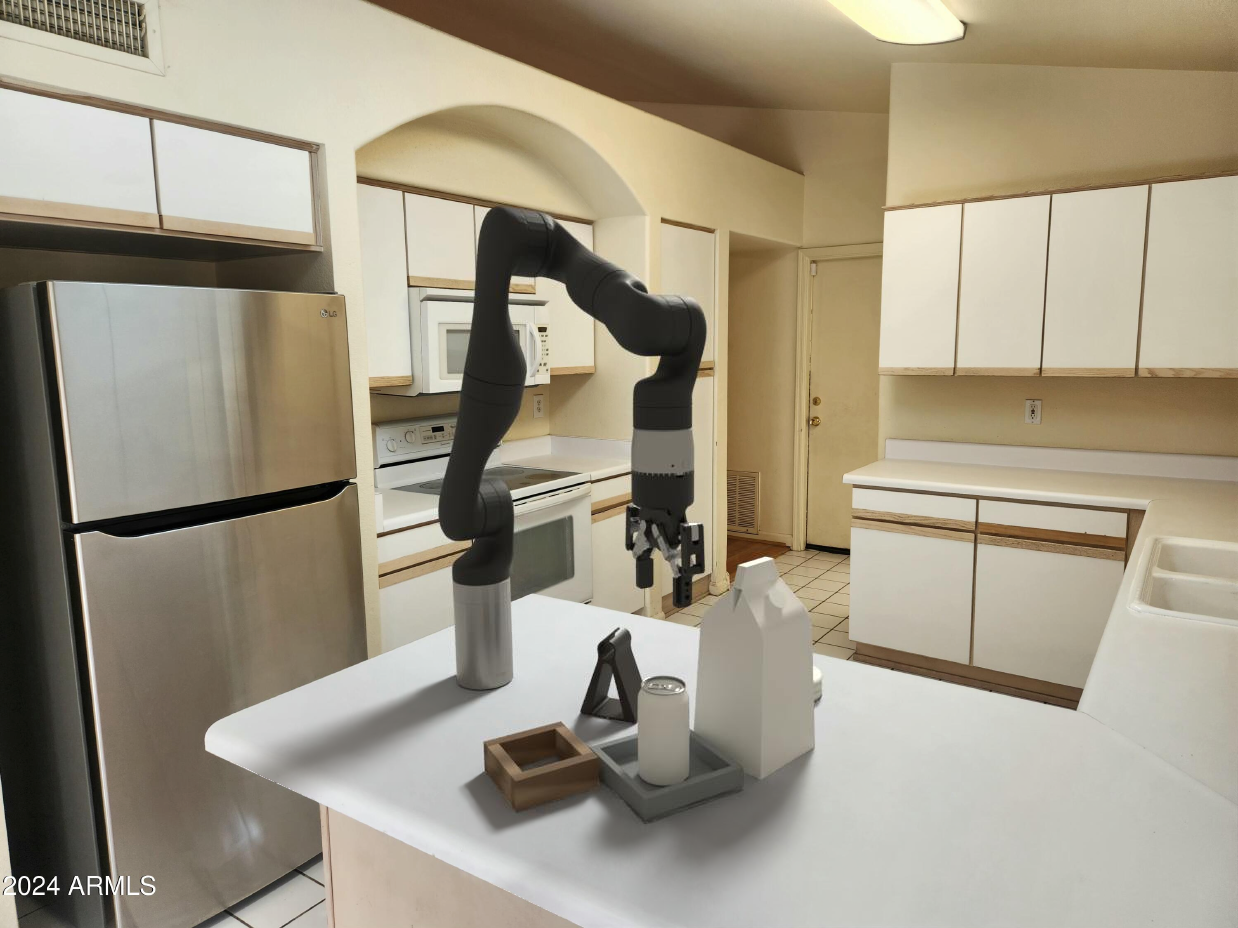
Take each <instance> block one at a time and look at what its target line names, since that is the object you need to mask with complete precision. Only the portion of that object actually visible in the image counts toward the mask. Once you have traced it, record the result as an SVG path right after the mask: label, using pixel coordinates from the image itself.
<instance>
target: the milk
mask: <svg viewBox="0 0 1238 928" xmlns="http://www.w3.org/2000/svg"><path fill="white" fill-rule="evenodd" d="M811 617H812V616H811V614H810V612H809V611H808V609H807V608H806V606H805V605H804V604H803V602H801V600H800V599H799V598H798V597H797V595H796V594H795V593H794V592H793V591H792V590H791V588H790V587H789V586H788V585H787V583H786V582H785V581H784V580H783V579H782V578H781V577H780V573H779V570H778V567H777V564H776V562H775V558H773V557H769V556H763V557H760V558H757V559H753V560H750V561H747V562H744V563H739V564H737V569H736V572H735V577H734V581H733V585H732V588H731V589H729V590H728V591H727V592H726V593H725V594H723V596H721V597H720V598H718V600H717V601H715V602H714V603H713V604H712V605H710V607H709V608H707V609H706V610H705V612H704V613H703V615H702V616H701V619H700V624H699V625H700V626H699V640H698V643H699V644H698V654H697V655H698V658H697V670H696V671H697V672H696V675H697V676H696V689H695V704H694V705H695V706H694V719H693V721H694V722H693V731H694V732H695V733H697V734H698V735H699V736H701V737H702V738H704V739H705V740H706V741H708V742H709V743H710V744H712V745H713V746H715V747H716V748H717V749H719V750H720V751H721V752H723V753H724V754H726V755H727V756H728V757H730V758H731V759H732V760H734V761H735V762H737V763H738V764H739V765H741V766H742V767H743V773H745V774H748V775H750V776H752V777H754V778H756V779H758V780H763V779H764V778H766V777H767V776H769V775H771V774H772V773H774V772H776V771H777V770H779V769H781V768H782V767H784V766H787V764H789V763H790V762H793V761H794V760H796V759H797V758H798V757H800V756H803V755H804V754H805V753H807V752H809V751H810V750H813V749H814V748H815V747H816V734H815V733H816V731H815V729H816V728H815V701H814V684H813V666H814V654H813V653H814V651H813V649H814V648H813V623H812V622H813V621H812V618H811Z"/></svg>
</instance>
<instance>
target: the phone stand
mask: <svg viewBox="0 0 1238 928" xmlns="http://www.w3.org/2000/svg"><path fill="white" fill-rule="evenodd" d="M620 630H621V627H616V628H615V629H614V630H613V631H612V632H610V633H609V634H608V635H607V636H606V637H605V638H603V639H602V640H601V641H600V642H599V643H598V644H597V646H596V651H597V661H596V664H595V667H594V669H593V673H592V676H591V679H590V681H589V684H588V686H587V690H586V694H585V696H584V698H583V701H582V704H581V707H580V711H579V713H580V715H584V716H590V717H595V718H601V719H605V720H606V719H608V720H611V721H616V722H622V723H628V724H633V725H635V724H636V723H638V694H639V692H640V690H641V683H642V681H643V679H642V675H641V673H640V670H639V667H638V665H637V662H636V658H635V655H634V653H633V649H632V634H631V632H630V630H628V628H626V627H624V628H623V629H622V630H621V631H620ZM619 631H620V632H619ZM616 633H617V634H616ZM612 678H613V680H614V683H615V687H616V691H617V697H618V698H613V697H609V696H608V695H609V690H610V688H611V687H610V686H611V682H612Z"/></svg>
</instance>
